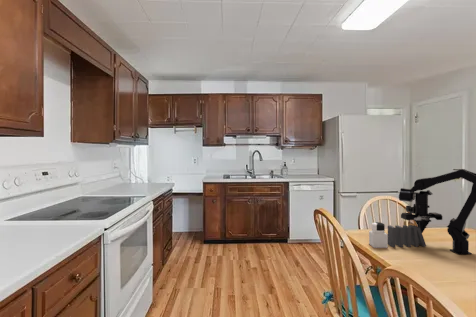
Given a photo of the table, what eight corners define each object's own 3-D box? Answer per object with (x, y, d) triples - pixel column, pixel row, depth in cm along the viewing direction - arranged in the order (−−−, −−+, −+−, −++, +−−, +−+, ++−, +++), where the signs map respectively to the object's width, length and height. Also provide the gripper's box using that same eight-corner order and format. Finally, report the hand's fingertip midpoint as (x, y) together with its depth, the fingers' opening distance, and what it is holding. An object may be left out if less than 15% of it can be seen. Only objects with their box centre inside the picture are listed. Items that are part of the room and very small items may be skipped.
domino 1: (395, 247, 161) (395, 227, 161) (392, 247, 161) (392, 227, 161) (390, 244, 166) (390, 225, 166) (387, 244, 166) (387, 225, 166)
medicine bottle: (382, 244, 167) (382, 221, 166) (387, 248, 160) (387, 224, 159) (368, 243, 167) (368, 221, 167) (373, 247, 160) (373, 224, 160)
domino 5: (426, 245, 161) (419, 227, 161) (423, 246, 161) (416, 228, 161) (420, 242, 166) (414, 225, 166) (417, 243, 166) (411, 226, 166)
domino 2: (403, 247, 161) (403, 227, 161) (400, 247, 161) (400, 227, 161) (398, 244, 166) (398, 225, 166) (395, 244, 166) (395, 225, 166)
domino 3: (410, 246, 161) (411, 227, 161) (407, 247, 161) (408, 227, 161) (405, 244, 166) (405, 225, 166) (402, 244, 166) (402, 225, 166)
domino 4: (418, 246, 161) (416, 227, 161) (415, 246, 161) (413, 227, 161) (413, 243, 166) (411, 225, 166) (410, 244, 166) (408, 225, 166)
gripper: (429, 200, 171) (429, 228, 172) (395, 200, 171) (395, 228, 172) (443, 203, 160) (443, 234, 161) (406, 204, 160) (406, 234, 160)
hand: (421, 232), depth 164 cm, fingers closed
